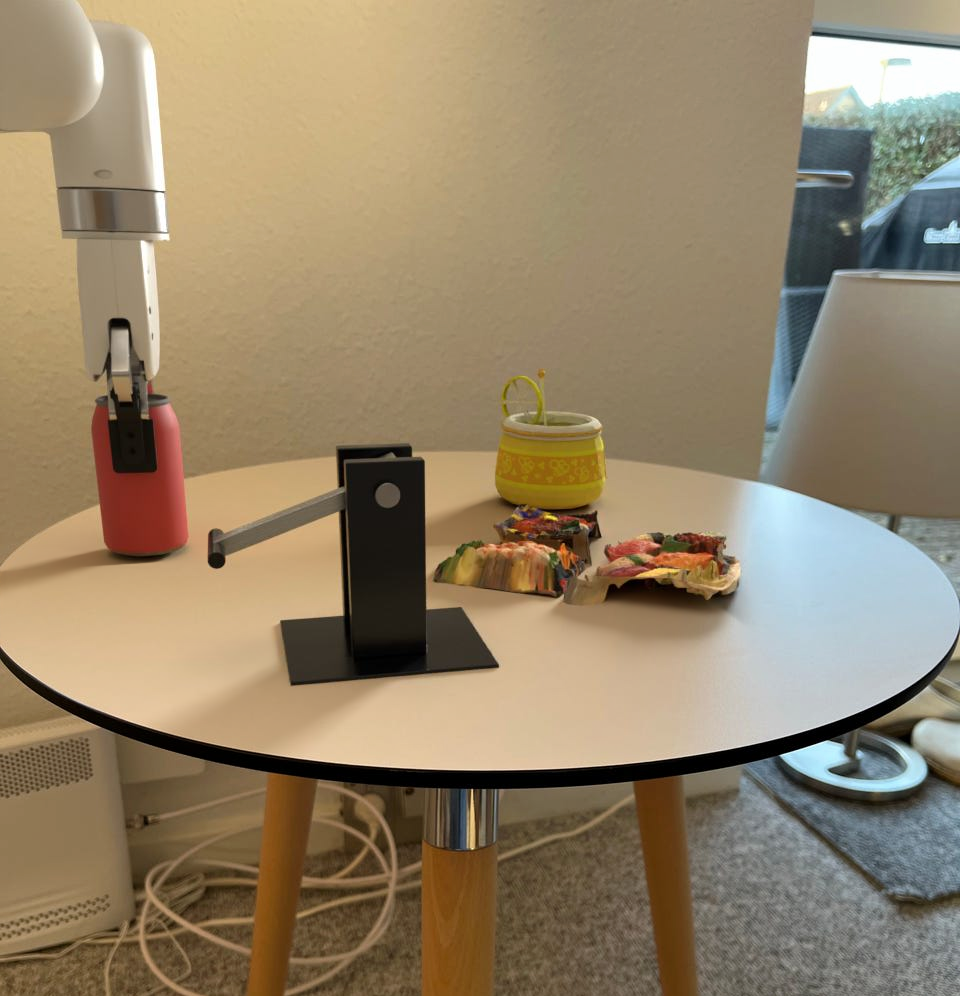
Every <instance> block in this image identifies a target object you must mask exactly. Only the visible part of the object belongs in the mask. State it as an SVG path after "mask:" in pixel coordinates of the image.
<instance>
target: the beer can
mask: <svg viewBox="0 0 960 996" xmlns="http://www.w3.org/2000/svg"><path fill="white" fill-rule="evenodd" d="M94 402H95V404H96V405H95V407H94V412H93V415H92V418H91V426H90V431H91V432H90V433H91V438H92V440H91V441H92V448H93V457H94V465H95V466H94V467H95V475H96V485H97V492H98V501H99V509H100V518H101V527H102V536H103V537H102V538H103V543H104V545H105V546H106V548H107V549H108V550H109V551H111V552H113V553H115V554H119V555H122V556H128V557H152V556H161V555H165V554H170V553H172V552H175V551H178V550H180V549H182V548H183V547H185V545H186V544H187V542H188V541H189V524H188V512H187V500H186V490H185V476H184V465H183V452H182V443H181V441H182V440H181V430H180V424H179V421H178V418H177V415H176V413H175V411H174V409H173V407H172V405H171V403H170V402H171V398H170V397H169V396H167V395H164V394H159V393H155V394H148V408H149V418H153V423H154V433H155V444H156V455H157V465H158V467H157V470H156V471H155V472H153V473H116V472H114V470H113V464H112V455H111V446H110V437H109V428H108V419H110V417H109V407H108V394H105V395H101V396H98V397H96V398H95V399H94ZM139 402H140V399H139Z"/></svg>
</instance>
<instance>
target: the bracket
mask: <svg viewBox="0 0 960 996" xmlns="http://www.w3.org/2000/svg"><path fill="white" fill-rule="evenodd" d="M391 452H392V453H393V454H394V455H395V456H396V458H378V457H380V456H383V455H385V454H388V453H391ZM335 456H336V457H335V460H336V480H337V481H336V483H337V484H336V485H337V489H338V488H340V487H343V486H345V505H346V509H344V510H341V511H338V529H339V531H338V532H339V547H340V548H339V551H340V571H341V572H340V574H341V575H340V576H341V599H342V615H333V616H332V615H331V616H319V617H318V616H317V617H306V618H305V617H304V618H292V619H282V620H281V619H280V621H279V624H280V629H281V631H280V632H281V636H282V642H283V647H284V648H283V649H284V653H285V659H286V666H287V671H288V678H289V683H290V687H294V686H304V685H315V684H328V683H339V682H340V683H341V682H350V681H364V680H372V679H385V678H397V677H408V676H419V675H429V674H430V675H431V674H440V673H441V674H442V673H453V672H465V671H476V670H487V669H488V670H489V669H498V668H500V664H499V662H498V660H497V658H495V656H494V655H493V653H492V651H491V650H490V648H489V646H488V645H487V643H485V641H484V639H483V637H482V636H481V634H479V632H478V630H477V628H476V627H475V625H474V623H473V622H472V621H471V619H470V618H469V616H468V615H467V613H466V612H465V610H464V609H463V607H462V606H455V607H443V608H442V607H441V608H429V609H427V540H426V538H427V536H426V535H427V534H426V533H427V532H426V531H427V530H426V529H427V528H426V460H425V459H424V458H423V457H422V456H413V446H412V445H411V443H409V442H402V443H401V442H400V443H372V444H347V445H345V444H343V445H342V444H341V445H336V446H335Z"/></svg>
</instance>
